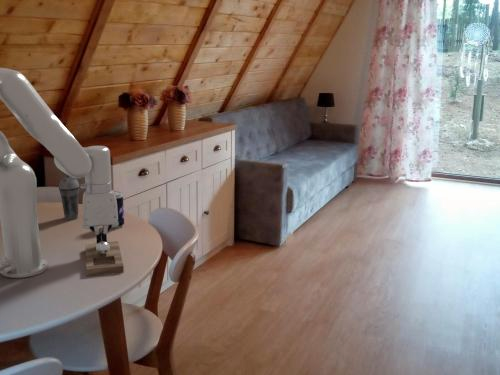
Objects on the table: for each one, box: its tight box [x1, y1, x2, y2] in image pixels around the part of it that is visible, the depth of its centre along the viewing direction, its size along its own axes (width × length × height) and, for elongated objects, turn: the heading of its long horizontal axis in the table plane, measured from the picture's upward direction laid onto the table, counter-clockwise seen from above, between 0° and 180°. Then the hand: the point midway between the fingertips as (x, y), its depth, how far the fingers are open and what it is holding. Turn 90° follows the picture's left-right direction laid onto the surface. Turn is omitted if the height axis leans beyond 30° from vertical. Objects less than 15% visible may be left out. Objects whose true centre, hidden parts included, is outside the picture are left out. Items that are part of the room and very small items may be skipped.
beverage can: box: [111, 190, 125, 229], centre depth 193 cm, size 6×6×12 cm
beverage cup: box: [58, 175, 81, 221], centre depth 199 cm, size 7×7×20 cm
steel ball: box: [96, 241, 110, 255], centre depth 163 cm, size 4×4×4 cm
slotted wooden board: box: [84, 241, 125, 277], centre depth 164 cm, size 20×10×2 cm, turn 17°
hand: (101, 245), depth 169 cm, fingers closed
